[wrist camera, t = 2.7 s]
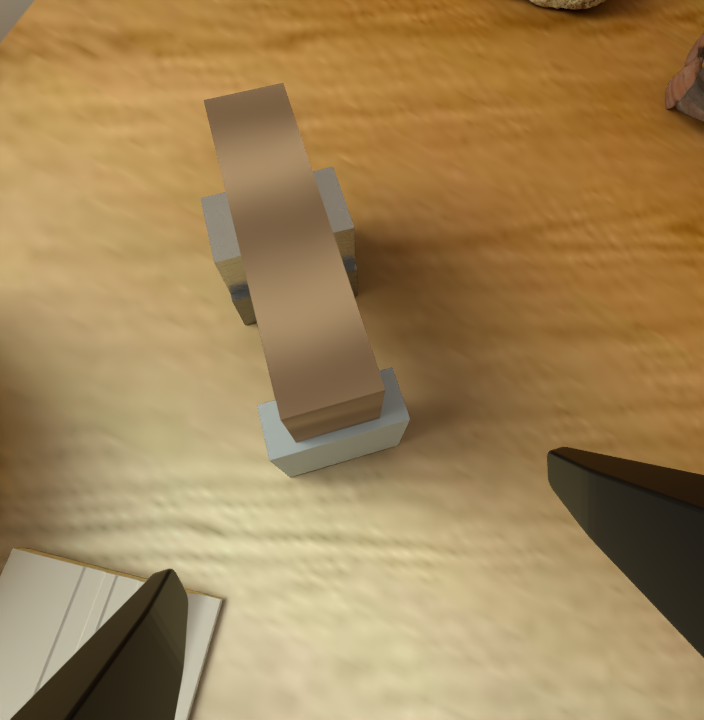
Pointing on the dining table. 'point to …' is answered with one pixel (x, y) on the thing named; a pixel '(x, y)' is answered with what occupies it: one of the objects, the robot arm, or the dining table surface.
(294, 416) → the batten
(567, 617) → the dining table surface
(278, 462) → the light gray rectangular block
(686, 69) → the dark curved fragment
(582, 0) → the decorative item
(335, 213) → the grey stepped block
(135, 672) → the robot arm
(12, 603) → the baseboard molding
